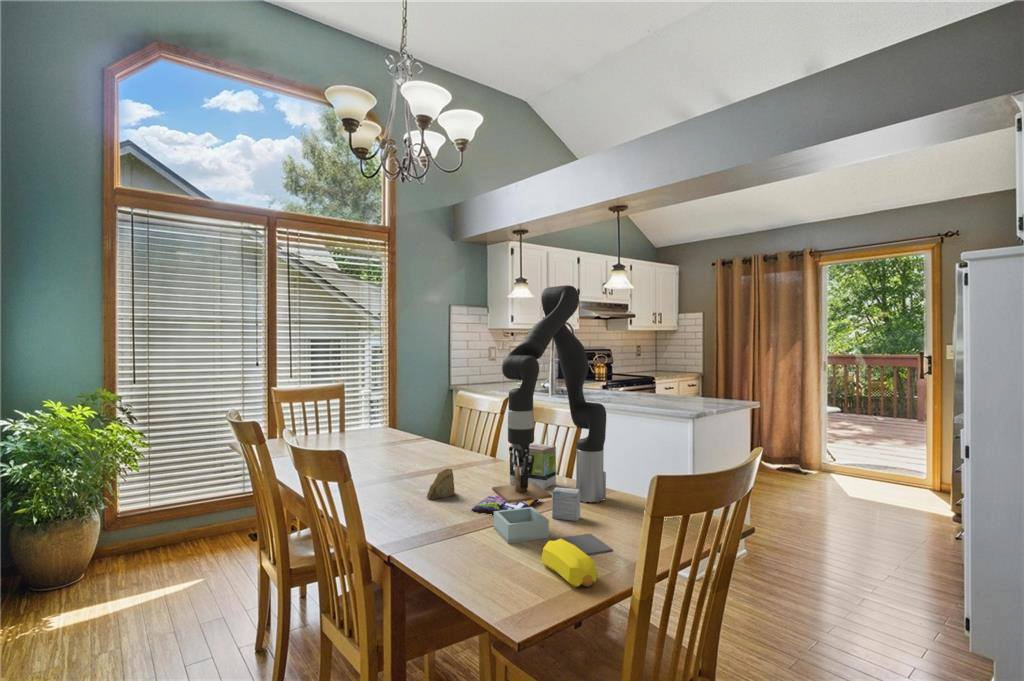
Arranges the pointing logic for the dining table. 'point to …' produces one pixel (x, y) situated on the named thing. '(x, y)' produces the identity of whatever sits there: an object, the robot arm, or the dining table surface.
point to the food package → (498, 504)
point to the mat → (587, 543)
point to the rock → (442, 485)
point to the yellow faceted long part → (569, 562)
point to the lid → (520, 491)
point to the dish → (521, 525)
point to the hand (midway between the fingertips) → (521, 485)
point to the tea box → (540, 466)
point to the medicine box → (566, 504)
